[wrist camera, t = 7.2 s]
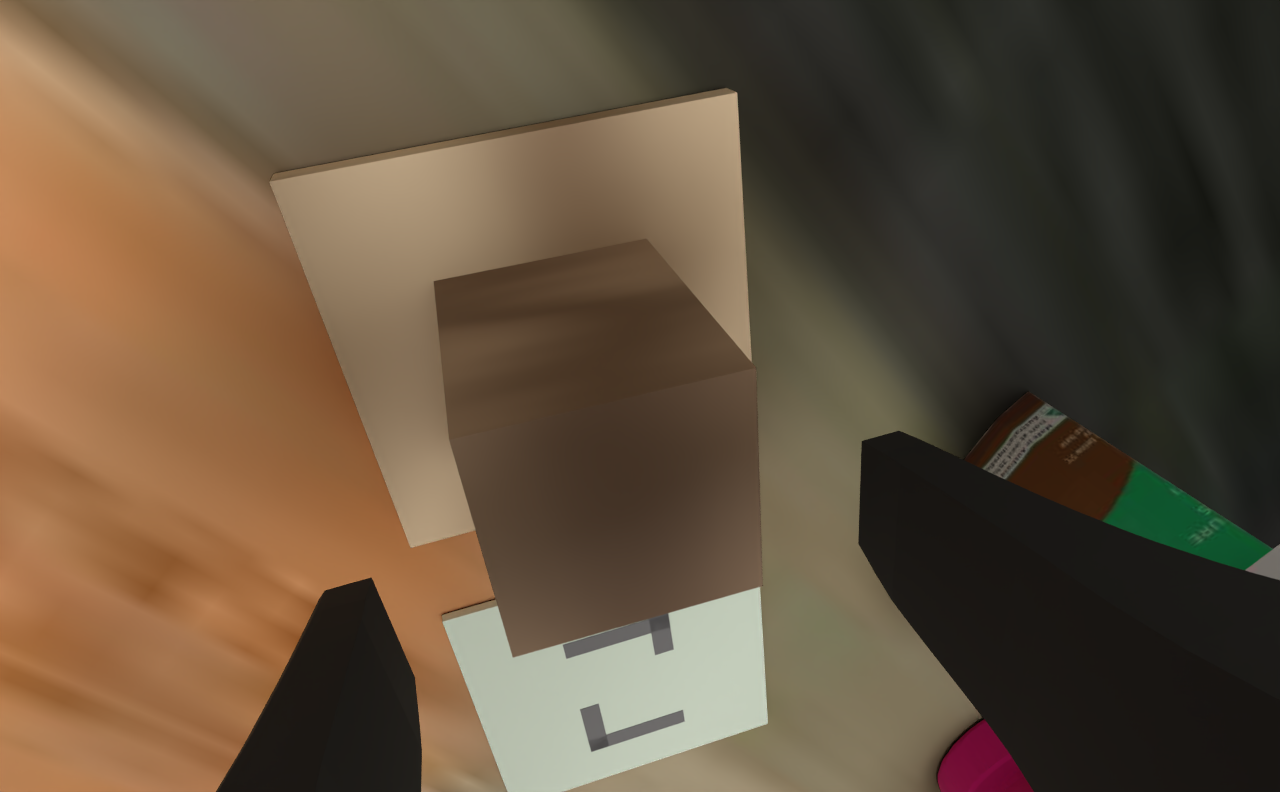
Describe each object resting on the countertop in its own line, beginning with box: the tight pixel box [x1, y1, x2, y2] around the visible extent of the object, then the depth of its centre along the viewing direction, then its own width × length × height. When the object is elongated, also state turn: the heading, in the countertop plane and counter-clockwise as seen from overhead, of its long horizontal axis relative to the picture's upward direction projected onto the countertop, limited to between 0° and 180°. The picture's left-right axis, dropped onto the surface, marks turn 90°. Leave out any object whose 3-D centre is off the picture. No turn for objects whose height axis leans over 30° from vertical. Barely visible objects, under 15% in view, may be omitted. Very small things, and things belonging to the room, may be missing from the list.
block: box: [434, 239, 763, 658], centre depth 15 cm, size 4×4×6 cm
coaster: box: [269, 88, 752, 548], centre depth 17 cm, size 9×9×1 cm
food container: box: [964, 391, 1280, 580], centre depth 21 cm, size 12×6×10 cm, turn 38°
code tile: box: [442, 587, 768, 792], centre depth 24 cm, size 9×9×1 cm
